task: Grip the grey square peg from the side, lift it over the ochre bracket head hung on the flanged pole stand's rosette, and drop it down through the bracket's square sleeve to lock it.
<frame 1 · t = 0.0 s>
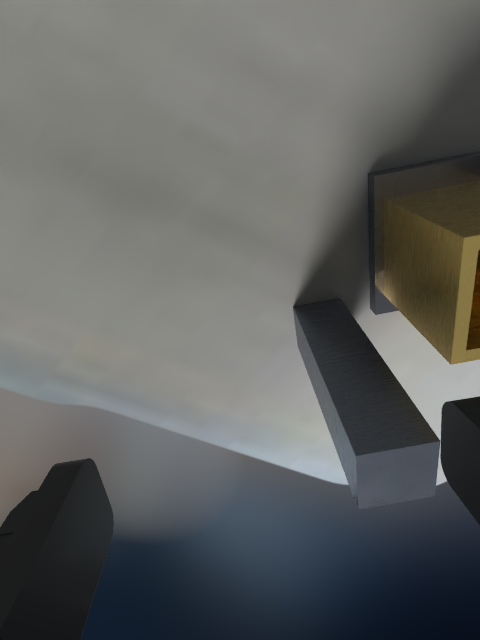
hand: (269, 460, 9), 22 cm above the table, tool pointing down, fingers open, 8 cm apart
grey square peg: (318, 323, 33), on the table
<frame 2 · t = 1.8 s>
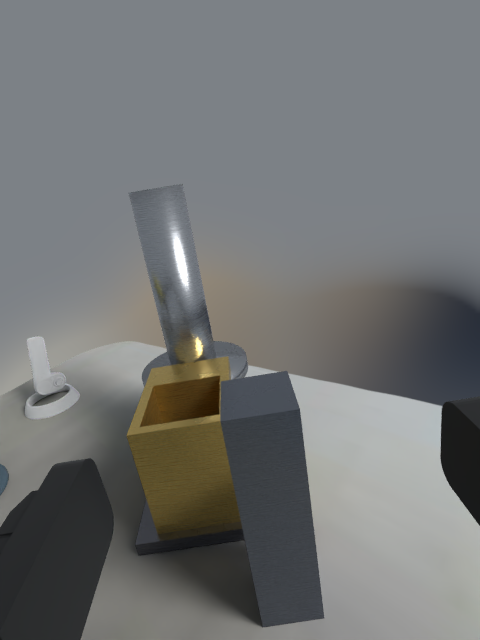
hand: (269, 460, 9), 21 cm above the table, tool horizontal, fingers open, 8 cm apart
flanged pole stand: (210, 438, 44), on the table
grey square peg: (288, 591, 27), on the table
white vr controller: (53, 405, 57), on the table
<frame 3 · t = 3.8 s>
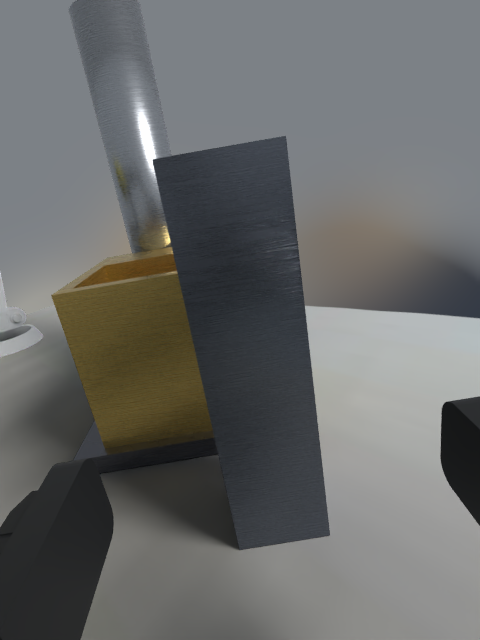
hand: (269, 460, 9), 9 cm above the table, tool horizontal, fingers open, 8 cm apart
flanged pole stand: (188, 361, 36), on the table
grey square peg: (278, 506, 19), on the table
white vr controller: (12, 347, 49), on the table
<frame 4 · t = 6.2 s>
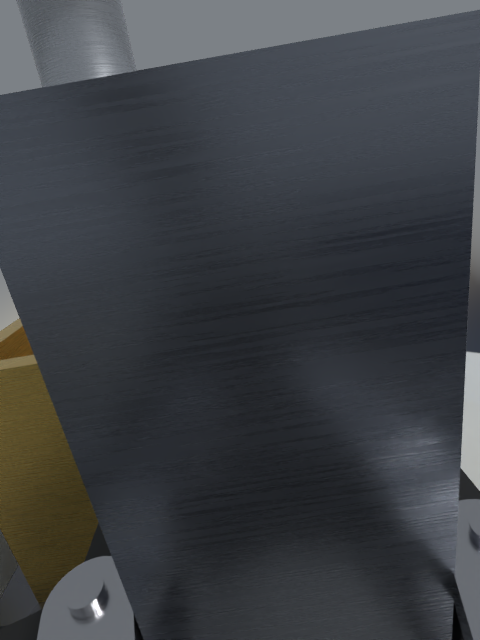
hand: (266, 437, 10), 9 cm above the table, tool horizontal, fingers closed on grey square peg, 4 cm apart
flanged pole stand: (178, 418, 27), on the table
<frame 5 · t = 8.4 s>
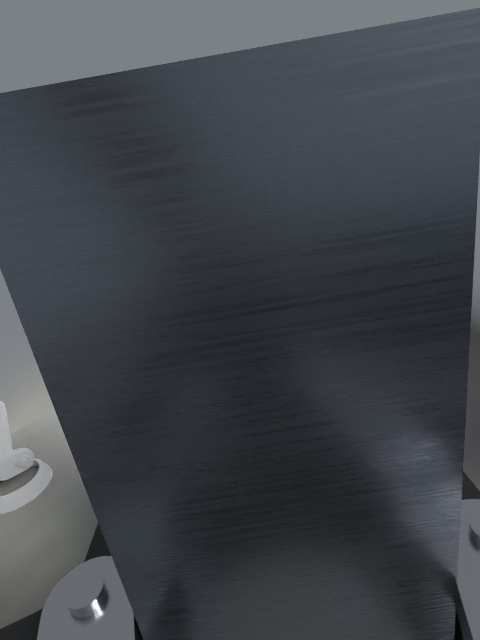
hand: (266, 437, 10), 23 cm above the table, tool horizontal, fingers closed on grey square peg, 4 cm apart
white vr controller: (18, 489, 44), on the table
when the fingers open (17 cm above the table, at t = 10.8 s): grey square peg drops 6 cm, resting on flanged pole stand.
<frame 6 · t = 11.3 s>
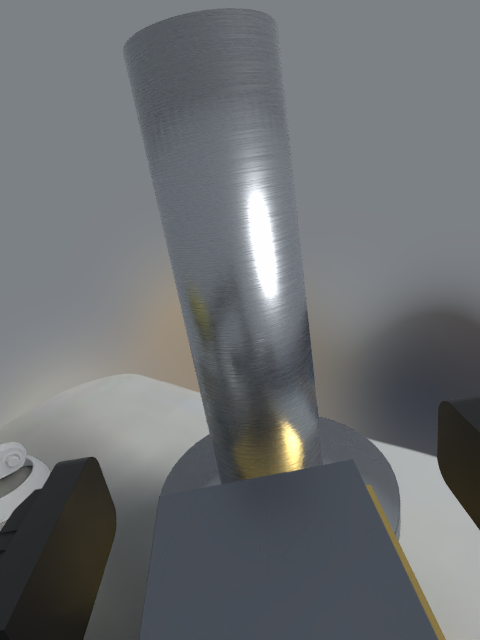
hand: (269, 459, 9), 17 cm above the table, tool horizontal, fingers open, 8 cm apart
flanged pole stand: (295, 616, 21), on the table
white vr controller: (6, 494, 35), on the table
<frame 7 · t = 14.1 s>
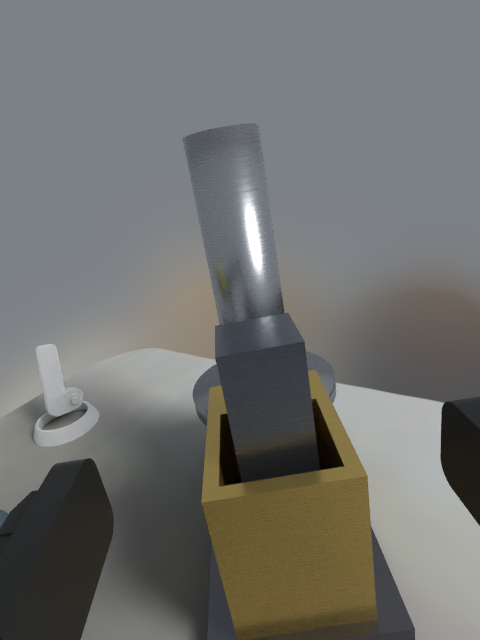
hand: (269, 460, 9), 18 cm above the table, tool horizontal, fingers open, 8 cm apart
flanged pole stand: (278, 476, 33), on the table
grey square peg: (294, 563, 24), point 1 cm above the table, touching flanged pole stand
white vr controller: (68, 427, 47), on the table
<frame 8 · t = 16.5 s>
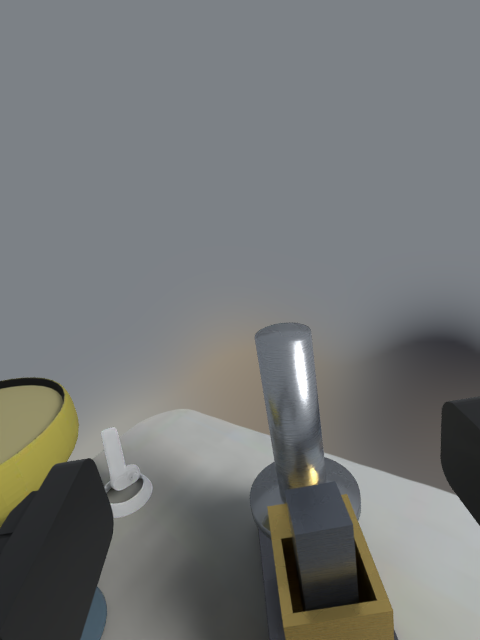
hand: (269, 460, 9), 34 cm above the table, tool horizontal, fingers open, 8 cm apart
cocktail glass: (53, 635, 39), on the table
flanged pole stand: (312, 559, 42), on the table
white vr controller: (126, 496, 56), on the table
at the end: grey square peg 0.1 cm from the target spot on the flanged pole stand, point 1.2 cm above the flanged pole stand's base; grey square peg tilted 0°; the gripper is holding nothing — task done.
